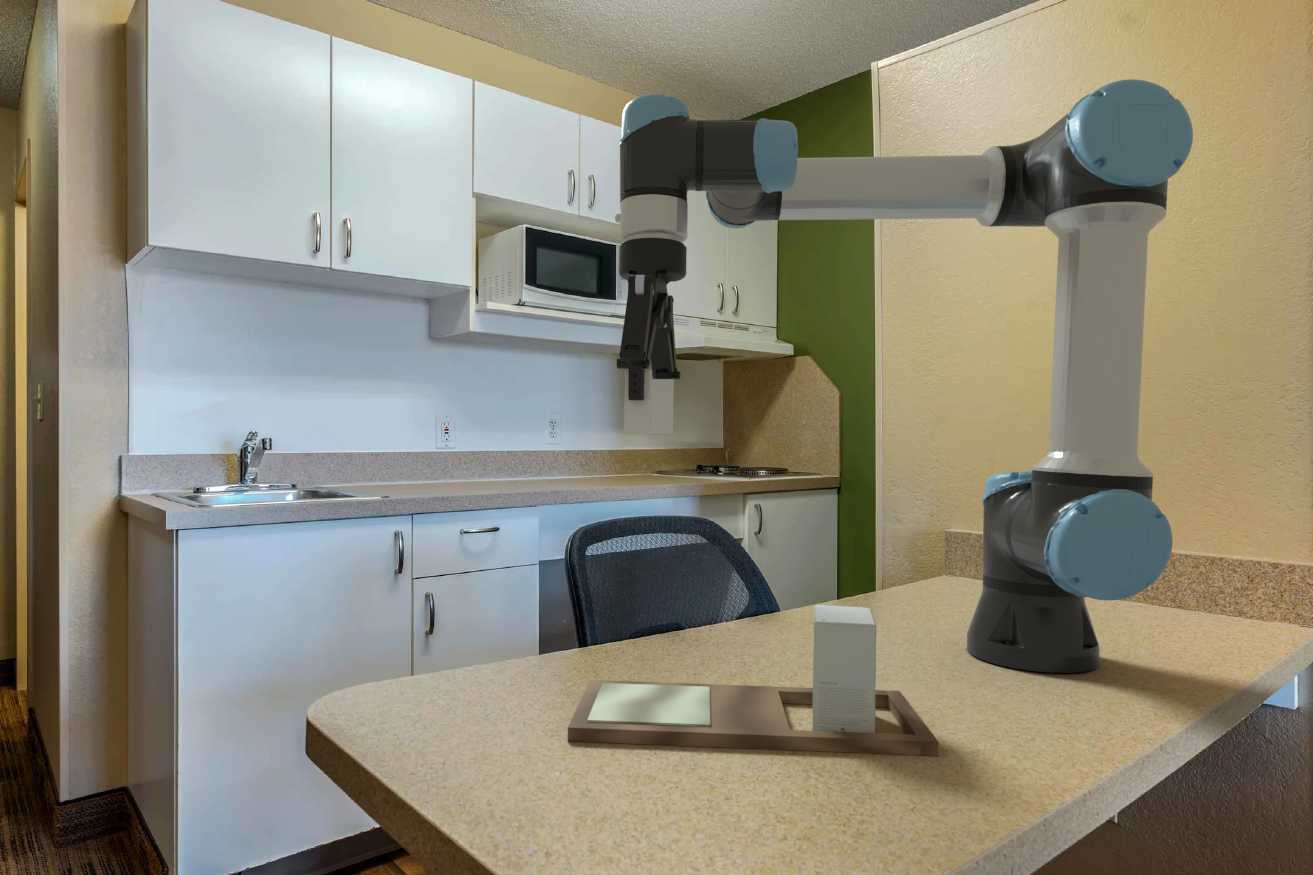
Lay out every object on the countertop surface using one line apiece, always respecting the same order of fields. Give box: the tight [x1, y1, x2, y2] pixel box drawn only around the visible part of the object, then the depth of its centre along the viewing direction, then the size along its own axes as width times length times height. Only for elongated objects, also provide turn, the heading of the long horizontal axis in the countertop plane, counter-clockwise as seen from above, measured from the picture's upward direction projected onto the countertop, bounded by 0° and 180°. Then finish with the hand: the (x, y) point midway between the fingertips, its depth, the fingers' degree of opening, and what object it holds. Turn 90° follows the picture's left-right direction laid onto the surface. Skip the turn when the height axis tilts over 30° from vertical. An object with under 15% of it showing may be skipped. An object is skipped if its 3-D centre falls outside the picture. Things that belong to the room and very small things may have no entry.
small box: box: [812, 604, 877, 733], centre depth 77 cm, size 8×6×10 cm
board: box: [567, 679, 940, 757], centre depth 78 cm, size 32×14×1 cm, turn 87°
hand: (650, 434), depth 91 cm, fingers open, 13 cm apart
